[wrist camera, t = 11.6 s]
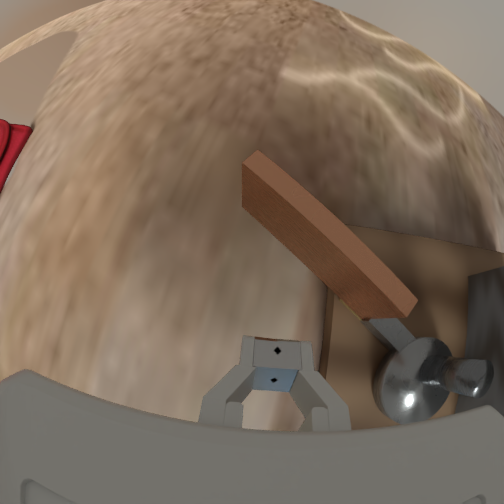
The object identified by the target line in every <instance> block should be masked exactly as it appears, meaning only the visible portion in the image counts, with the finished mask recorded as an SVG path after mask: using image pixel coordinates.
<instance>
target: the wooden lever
mask: <svg viewBox="0 0 504 504" xmlns="http://www.w3.org/2000/svg"><path fill="white" fill-rule="evenodd" d="M242 207H243V208H244V209H245V210H246V211H248V212H249V213H250V214H251V215H252V216H253V217H254V218H255V219H256V220H257V221H258V222H260V223H261V224H262V225H263V226H264V227H265V228H266V229H267V230H268V231H269V232H270V233H272V234H273V235H274V236H275V237H276V238H277V239H278V240H279V241H280V242H281V243H282V244H283V245H284V246H286V247H287V248H288V249H289V250H290V251H291V252H292V253H293V254H294V255H295V256H296V257H297V258H298V259H299V260H300V261H302V262H303V263H304V264H305V265H306V266H307V267H308V268H309V269H310V270H311V271H312V272H313V273H314V274H315V275H316V276H317V277H318V278H319V279H321V280H322V281H323V282H324V283H325V284H326V285H327V286H328V287H329V288H330V289H331V290H332V291H333V292H334V293H335V294H336V295H337V296H338V297H339V298H340V299H341V300H342V301H343V302H344V303H345V304H346V305H348V306H349V307H350V308H351V309H352V310H353V311H354V312H355V313H356V314H357V315H358V316H359V317H360V318H361V320H360V322H361V323H362V324H363V325H364V326H365V327H366V328H367V329H368V330H369V331H370V332H371V333H372V334H373V335H374V336H375V337H376V338H377V339H378V340H379V341H380V342H381V343H382V344H383V345H384V346H385V347H386V348H387V349H388V350H389V351H388V352H387V353H386V354H385V356H384V357H383V359H382V360H381V362H380V364H379V366H378V368H377V371H376V374H375V377H374V383H373V395H374V400H375V403H376V405H377V407H378V409H379V410H380V411H381V412H382V414H384V415H385V416H387V417H388V418H390V419H392V420H393V421H395V422H397V423H399V424H401V425H402V424H409V423H414V422H420V421H425V420H428V419H429V418H431V417H432V416H433V415H434V414H436V413H437V412H438V410H439V409H440V408H441V407H442V406H443V404H444V403H445V401H446V399H447V398H448V396H449V393H450V392H453V393H457V394H461V395H465V396H469V397H473V398H481V397H483V396H484V395H485V394H486V393H487V391H488V390H489V388H490V386H491V384H492V381H493V377H494V367H493V364H492V362H491V361H489V360H483V359H471V358H461V357H453V356H452V353H451V351H450V349H449V348H448V346H447V345H446V344H445V343H444V342H442V341H441V340H439V339H437V338H433V337H414V336H413V335H412V334H411V333H410V332H409V331H408V330H407V329H406V327H405V326H404V325H403V324H402V323H401V322H400V321H399V320H398V319H397V318H405V317H407V316H408V315H409V314H410V312H411V311H412V309H413V308H414V306H415V304H416V303H417V301H418V299H417V298H416V297H415V296H414V295H413V294H412V293H411V292H410V290H409V289H408V288H407V287H406V286H405V285H404V284H403V283H402V282H401V281H400V280H399V279H398V278H397V277H396V275H395V274H394V273H393V272H392V271H391V270H390V269H389V268H388V267H387V266H386V265H385V264H384V263H383V262H382V261H381V260H380V259H379V258H378V257H377V256H376V255H375V254H374V253H373V252H372V251H371V250H370V249H369V248H368V247H367V246H366V245H365V244H364V243H363V242H362V241H361V240H360V239H359V238H358V237H357V236H356V235H355V234H354V233H353V232H352V231H351V230H350V229H349V228H348V227H346V226H345V225H344V224H343V223H342V222H341V221H340V220H339V219H338V218H337V217H336V216H335V215H334V214H333V213H331V212H330V211H329V210H328V209H327V208H326V207H325V206H324V205H323V204H322V203H320V202H319V201H318V200H317V199H316V198H315V197H314V196H313V195H311V194H310V193H309V192H308V191H307V190H306V189H305V188H303V187H302V186H301V185H300V184H299V183H298V182H296V181H295V180H294V179H293V178H292V177H291V176H289V175H288V174H287V173H286V172H285V171H283V170H282V169H281V168H280V167H279V166H277V165H276V164H275V163H274V162H273V161H271V160H270V159H269V158H268V157H266V156H265V155H264V154H263V153H261V152H260V151H259V150H257V151H255V152H254V153H253V154H252V155H251V156H249V157H248V158H247V159H246V160H245V161H243V162H242Z"/></svg>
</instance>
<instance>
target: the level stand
mask: <svg viewBox="0 0 504 504" xmlns="http://www.w3.org/2000/svg"><path fill="white" fill-rule="evenodd" d="M344 225H345V226H346V227H348V228H349V229H350V230H351V231H352V232H353V233H354V234H355V235H356V236H357V237H358V238H359V239H360V240H361V241H362V242H363V243H364V244H365V245H366V246H367V247H368V248H369V249H370V250H371V251H372V252H373V253H374V254H375V255H376V256H377V257H378V258H379V259H380V260H381V261H382V262H383V263H384V264H385V265H386V266H387V267H388V268H389V269H390V270H391V271H392V272H393V273H394V274H395V275H396V277H397V278H398V279H399V280H400V281H401V282H402V283H403V284H404V285H405V286H406V287H407V288H408V289H409V290H410V292H411V293H412V294H413V295H414V296H415V297H416V298H417V299H418V301H417V303H416V304H415V306H414V308H413V309H412V311H411V312H410V314H409V315H408V316H407V317H405V318H397V319H398V320H399V321H400V322H401V323H402V324H403V325H404V326H405V327H406V329H407V330H408V331H409V332H410V333H411V334H412V335H413V336H414V337H433V338H437V339H439V340H441V341H442V342H444V343H445V344H446V345H447V346H448V348H449V349H450V351H451V353H452V356H453V357H461V358H471V359H483V360H489V361H491V362H492V364H493V367H494V377H493V381H492V384H491V386H490V388H489V390H488V391H487V393H486V394H485V395H484V396H483V397H481V398H473V397H469V396H465V395H461V394H457V393H453V392H450V393H449V396H448V398H447V399H446V401H445V403H444V404H443V406H442V407H441V408H440V409H439V410H438V412H437V413H436V414H434V415H433V416H432V417H431V418H429V419H428V420H430V419H435V418H439V417H444V416H448V415H452V414H456V413H460V412H463V411H467V410H471V409H474V408H477V407H481V406H484V405H491V406H492V407H493V408H495V409H496V410H497V411H498V412H499V413H500V414H501V415H502V416H503V417H504V253H501V252H497V251H492V250H487V249H483V248H478V247H473V246H468V245H463V244H458V243H453V242H448V241H442V240H437V239H432V238H426V237H421V236H415V235H409V234H404V233H398V232H392V231H386V230H379V229H373V228H367V227H360V226H354V225H347V224H344ZM360 320H361V318H360V317H359V316H358V315H357V314H356V313H355V312H354V311H353V310H352V309H351V308H350V307H349V306H348V305H346V304H345V303H344V302H343V301H342V300H341V299H340V298H339V297H338V296H337V295H336V294H335V293H334V292H333V291H332V290H331V289H330V288H329V287H328V286H327V300H326V313H325V324H324V334H323V344H322V353H321V361H320V369H319V373H320V374H321V376H322V377H323V378H324V379H325V380H326V381H327V382H328V384H329V385H330V386H331V387H332V388H333V389H334V391H335V392H336V393H337V394H338V395H339V396H340V397H341V399H342V400H343V401H344V402H345V403H346V404H347V405H348V409H349V416H350V423H351V430H360V429H371V428H380V427H388V426H396V425H401V424H399V423H397V422H395V421H393V420H392V419H390V418H388V417H387V416H385V415H384V414H382V412H381V411H380V410H379V409H378V407H377V405H376V403H375V400H374V395H373V383H374V377H375V374H376V371H377V368H378V366H379V364H380V362H381V360H382V359H383V357H384V356H385V354H386V353H387V352H388V351H389V350H388V349H387V348H386V347H385V346H384V345H383V344H382V343H381V342H380V341H379V340H378V339H377V338H376V337H375V336H374V335H373V334H372V333H371V332H370V331H369V330H368V329H367V328H366V327H365V326H364V325H363V324H362V323H361V322H360Z"/></svg>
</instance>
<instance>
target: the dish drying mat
mask: <svg viewBox="0 0 504 504" xmlns="http://www.w3.org/2000/svg"><path fill="white" fill-rule="evenodd" d="M32 132H33V130H32V129H31V128H30V127H29V126H25V125H18V124H9V123H8V122H7V121H5V120H2V119H0V192H1V190H2V188H3V186H4V184H5V182H6V179H7V177H8V175H9V173H10V171H11V169H12V167H13V165H14V164H15V162H16V160H17V158H18V156H19V154H20V153H21V151H22V149H23V147H24V145H25V144H26V142H27V140H28V138H29V136H30V135H31V133H32Z"/></svg>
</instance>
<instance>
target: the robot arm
mask: <svg viewBox="0 0 504 504" xmlns="http://www.w3.org/2000/svg"><path fill="white" fill-rule="evenodd" d="M252 390H269V391H280V392H289V393H290V395H291V397H292V398H293V400H294V401H295V403H296V404H297V406H298V408H299V409H300V411H301V412H302V414H303V415H304V417H305V418H306V419H305V421H304V422H303V424H302V425H301V427H300V428H299V430H298V432H294V431H269V430H254V429H243V428H242V418H243V405H242V404H241V403H242V402H243V401H244V399H245V398H246V397H247V396H248V394H249V393H250V392H251V391H252ZM0 504H504V417H503V416H502V415H501V414H500V413H499V412H498V411H497V410H496V409H495V408H493V407H492V406H491V405H484V406H481V407H477V408H474V409H471V410H467V411H463V412H460V413H456V414H452V415H448V416H444V417H439V418H435V419H430V420H425V421H420V422H414V423H409V424H402V425H396V426H388V427H380V428H371V429H360V430H351V423H350V416H349V409H348V405H347V404H346V403H345V402H344V401H343V400H342V399H341V397H340V396H339V395H338V394H337V393H336V392H335V391H334V389H333V388H332V387H331V386H330V385H329V384H328V382H327V381H326V380H325V379H324V378H323V377H322V376H321V374H320V373H319V372H318V371H315V370H314V361H313V352H312V344H311V342H310V341H299V340H284V339H270V338H262V337H253V336H245V335H243V338H242V345H241V354H240V362H239V365H235V366H234V367H233V368H232V369H231V370H230V371H229V372H228V373H227V374H226V375H225V376H224V377H223V378H222V379H221V380H220V381H219V382H218V383H217V384H216V385H215V386H214V387H213V388H212V389H211V390H210V391H209V392H208V393H207V394H206V395H205V396H204V397H203V400H202V406H201V411H200V416H199V421H198V422H192V421H187V420H181V419H176V418H171V417H167V416H162V415H158V414H153V413H149V412H145V411H141V410H138V409H134V408H130V407H127V406H123V405H120V404H117V403H113V402H110V401H107V400H104V399H101V398H98V397H95V396H92V395H89V394H86V393H84V392H81V391H78V390H76V389H73V388H71V387H68V386H66V385H63V384H61V383H58V382H56V381H54V380H51V379H49V378H47V377H45V376H42V375H40V374H38V373H36V372H34V371H32V370H29V369H24V370H22V371H19V372H17V373H15V374H13V375H11V376H9V377H7V378H5V379H3V380H2V381H1V382H0Z"/></svg>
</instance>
